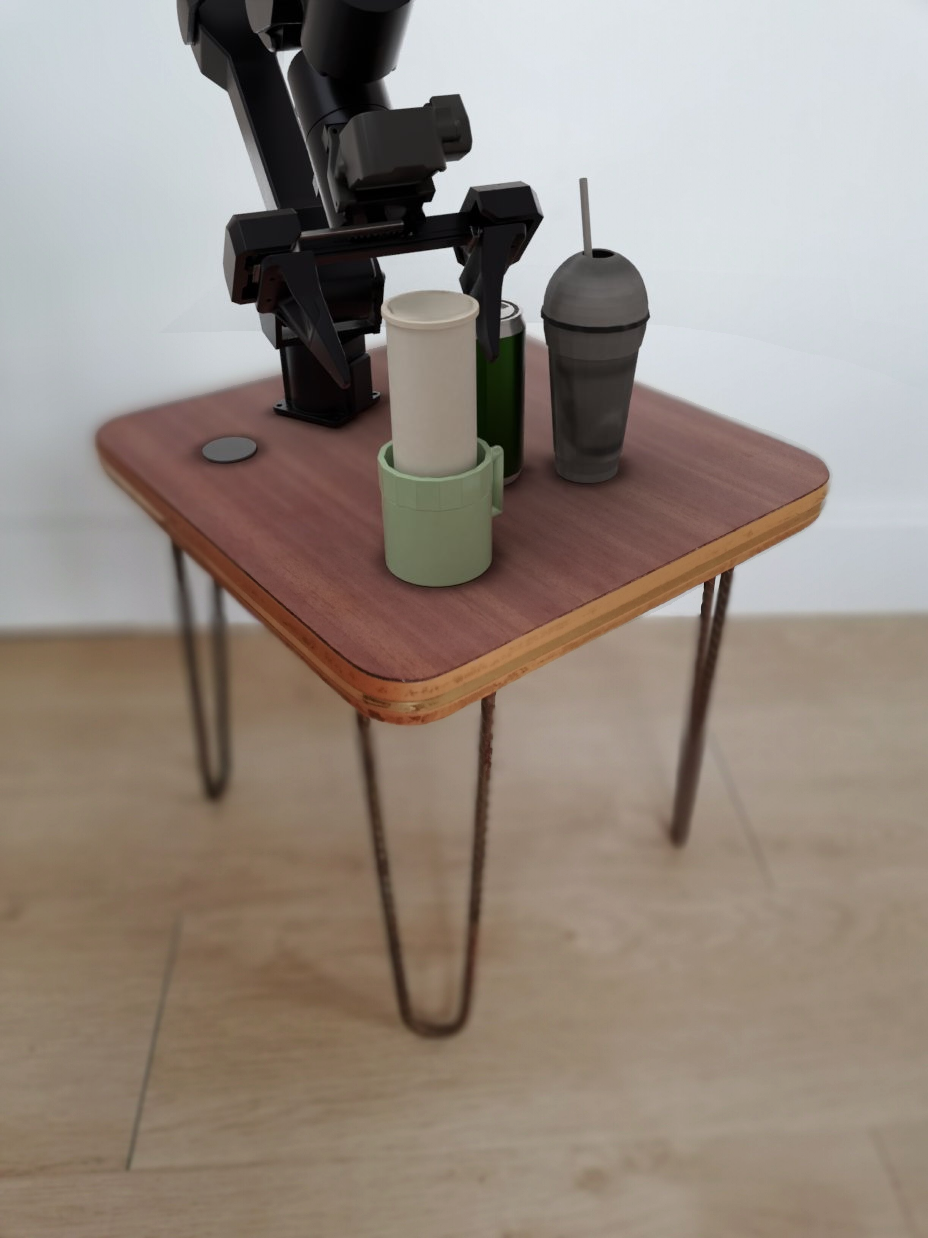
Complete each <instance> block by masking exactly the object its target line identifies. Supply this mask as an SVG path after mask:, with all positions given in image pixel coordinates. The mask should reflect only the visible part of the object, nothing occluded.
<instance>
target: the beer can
mask: <svg viewBox="0 0 928 1238" xmlns="http://www.w3.org/2000/svg"><path fill="white" fill-rule="evenodd" d="M523 314H524V309H523V307H522V305H521V304H519V303H518V302H517V301H513V300H510V299H507V298H502V299H501V322H500V347H499V357H498V359H497V360H496V362H495V363H491V364H489V363H488V361H487V359H486V357H485V355H484V353H483V351H482V349H481V347H480V345H479V342H478V338H477V335H476V406H477V437H478V438H480V439H482V440H484V441H486V442H487V444H488V445H489V447H492V446H494V445H498V446H500V447H502V449H503V452H504V464H503V487H505V486H508V485H509V484H511V483H513V482H515V481H516V480H517V479H518V478H519V477H520V474H521V472H522V470H523V467H524V463H525V461H524V460H525V416H526V415H525V412H526V410H525V409H526V407H525V405H526V355H527V354H526V352H527V351H526V350H527V348H526V347H527V322H526V321H525V318H524V316H523Z"/></svg>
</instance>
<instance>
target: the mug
mask: <svg viewBox="0 0 928 1238" xmlns="http://www.w3.org/2000/svg"><path fill="white" fill-rule="evenodd" d="M503 464H504V452H503V449H502V447H500V446H498V445H494V446H492V447H489V445H488V444H487V442H486V441H484V440H482V439H480V438H478V437H477V467H476V468H475V469H473V470H471V471H468V472H465V473H463V474H460V475H456V476H449V477H443V478H422V477H415V476H411V475H407V474H402V473H400V472H398V471H396V470H395V469H394V458H393V441H392V439H390V440H389V441H388V442H386V443H385V444H383V445H382V446H381V447H380V449H379V451H378V454H377V473H378V487H379V489H380V501H381V502H380V503H381V516H382V530H383V545H384V559H385V560H384V561H385V566H386V567H387V569H388V571H390V573H391V574H393V575H394V576H395V577H396V578H398V579H399V580H402V581H404V582H406V583H409V584H412V585H416V586H423V587H433V588H435V587H437V588H438V587H441V588H442V587H451V586H456V585H460V584H464V583H468V582H469V581H470V582H471V581H472V580H474V579H476V578H478V577H480V576H481V575H483V574H484V573H485V572H486V571H487V570H488V569H489V567H490V565H491V564H492V560H493V518H496V517H498V516H500V515H501V514H503V511H504V486H503Z"/></svg>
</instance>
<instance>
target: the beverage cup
mask: <svg viewBox="0 0 928 1238" xmlns="http://www.w3.org/2000/svg"><path fill="white" fill-rule="evenodd" d="M578 183H579V185H578V186H579V197H580V198H579V199H580V211H581V212H580V213H581V215H580V216H581V227H582V241H583V242H582V243H583V244H582V245H583V250H581V251H578V252H576V253H574V254H572V255H571V256H569V257H568V258H567V259H565V260H564V261H563V262H562V263H561V264H560V265H559V266H558V267H557V268H556V270H555V271H554V272H553V274H552V275H551V276H550V279H549V280H548V283H547V285H546V287H545V291H544V295H543V301H542V302H543V304H542V305H541V308H540V318H541V319H542V325H543V334H544V338H545V339H544V340H545V345H546V346H547V353H548V354H547V355H548V368H549V369H548V370H549V371H548V372H549V374H548V375H549V390H550V391H549V393H550V408H551V409H550V410H551V427H552V428H551V429H552V444H553V445H552V446H553V447H552V448H553V452H554V462H555V472H556V473H557V474H558V475H559V476H560V477H562V478H563V479H565V480H568V481H571V482H575V483H579V484H595V483H596V484H597V483H602V482H605V481H608V480H611V479H612V478H614V477H615V476H616V475H617V473H618V471H619V463H620V458H621V454H622V452H623V446H624V441H625V434H626V430H627V423H628V417H629V412H630V406H631V399H632V394H633V388H634V381H635V378H636V377H635V375H636V370H637V364H638V359H639V352H640V348H641V347H642V345H643V341H644V338H645V335H646V331H647V324H648V321H649V320H650V319H651V314H650V309H649V297H648V292H647V288H646V285H645V282H644V278H643V277H642V275H641V273H640V271H639V270H638V268H637V267H636V265H635V264H633V262H632V261H630V259H628V258H627V257H626V256H624V255H623V254H621V253H619V252H616V251H614V250H611V249H608V248H599V247H597V248H596V247H595V248H593V246H592V245H593V243H592V230H591V229H592V228H591V227H592V226H591V213H590V201H589V183H588V178H587V177H580V178H579V179H578Z"/></svg>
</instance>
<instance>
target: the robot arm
mask: <svg viewBox="0 0 928 1238" xmlns="http://www.w3.org/2000/svg"><path fill="white" fill-rule="evenodd" d="M416 1H417V0H176V15H177V22H178V27H179V32H180V35H181V39H182V42H183V45H184V46H190V48H191V51H192V54H193V56H194V59H195V62H196V64H197V67H198V69H199V72H200V73H201V75H203V76H204V77H205V78H206V79H209V80H210V81H211V82H213V83H214V84H215V85H217V86H218V87H219V88H220V89H222V90H223V91H225V92H226V93H227V95H228V97H229V100H230V103H231V106H232V109H233V112H234V116H235V119H236V121H237V125H238V127H239V131H240V134H241V137H242V141H243V143H244V147H245V149H246V152H247V155H248V159H249V161H250V164H251V167H252V171H253V174H254V176H255V180H256V183H257V186H258V188H259V189H258V190H259V193H260V195H261V198H262V200H263V204H264V207H265V210H262V211H252V212H245V213H235V214H232V216H231V218H230V219H229V221H228V222H227V224H226V225H225V228H224V229H225V230H224V240H223V241H224V244H223V254H222V268H223V269H222V270H223V275H224V280H225V285H226V288H227V291H228V295H229V299H230V302H231V303H234V304H236V305H239V306H243V305H249V304H254V307H255V310H256V312H257V313H258V316H259V322H260V328H261V332H262V333H263V334H264V336H265V337H266V339H267V340H268V341H269V343H270V344H271V345H272V347H273V348H274V350H275V351H276V350H277V351H279V352H278V353H279V359H280V368H281V376H282V384H283V393H284V398H282V399H281V400H279V401H278V402H276V403H274V404H272V408H273V412H274V413H276V414H281V415H285V416H289V417H292V418H296V419H300V420H304V421H308V422H313V423H317V424H321V425H325V426H328V427H335V428H337V427H340V426H342V425H343V424H345V423H347V422H348V421H349V420H351V419H353V418H354V417H356V416H358V415H359V414H360V413H362V412H363V411H365V410H366V409H368V408H369V407H371V406H372V405H374V404H376V403H377V402H379V401H380V400H381V397H382V395H381V392H379V391H375V390H373V374H372V361H371V360H372V359H371V354H370V353H369V352H367V347H366V346H367V345H366V336H367V335H379V334H381V331H382V330H381V327H382V324H383V318H382V315H381V306H382V304H383V303H384V300H385V299H384V297H385V285H386V277H387V276H386V273H385V272H384V271H383V270H382V269H381V264H380V262H379V260H378V258H384V257H392V256H398V255H399V256H400V255H406V254H413V253H421V252H427V251H436V250H442V249H443V250H444V249H450V248H452V249H453V253H454V256H455V259H456V262H457V264H458V265H460V266H462V267H463V269H462V271H461V273H460V275H459V277H458V282H459V286H460V288H461V292H462V294H466V295H468V296H470V297H472V298H474V299H475V300H476V301H477V302H478V304H479V314H478V316H477V317H476V335H477V338H478V342H479V345H480V347H481V349H482V351H483V353H484V355H485V357H486V359H487V361H488V363H489V364H491V363H495V362H496V360H497V359H498V357H499V347H500V322H501V299H503V298H502V297H503V286H504V278H505V275H506V274H507V272H508V270H509V268H510V267H511V266H513V265H515V264H516V263H518V262H520V261H521V258H522V256H523V255H524V253H525V251H527V249H528V246H529V244H530V243H531V241H532V239H533V238H534V235H535V234H536V232H537V230H538V229H539V227H540V225H541V224H542V222H543V220H544V218H545V215H544V213H543V210H542V206H541V203H540V200H539V196H538V194H537V192H536V191H535V190H534V189H533V187H532V186H531V185H530V184H528V183H526V182H524V181H522V180H517V181H516V180H515V181H509V182H500V183H499V182H498V183H491V184H482V185H474V186H469V188H468V191H467V192H466V195H465V197H464V199H463V202H462V204H461V207H460V209H459V211H458V212H451V213H441V214H434V215H426V212H425V210H424V204H426V203H432V202H433V200H434V197H435V194H436V191H437V189H436V186H435V183H434V179H433V177H434V176H435V175H437V174H438V173H444V172H445V171H446V170H447V168H448V167H447V163H451V162H458V161H461V160H462V159H463V158H464V157H466V156H467V155H468V154H470V153H471V151H472V148H473V135H472V128H471V122H470V118H469V115H468V112H467V109H466V107H465V103H464V101H463V98H462V96H461V94H460V93H453V94H442V95H441V94H440V95H432V96H431V97H429V101H428V102H425V103H424V104H423V106H415V107H414V106H413V107H405V108H394V106H393V103H392V99H391V96H390V92H389V89H388V87H387V83H386V80H385V77H387V76H389V75H390V74H391V72H395V71H396V70H397V67H398V64H399V62H400V57H401V53H402V50H403V48H404V43H405V40H406V37H407V33H408V29H409V25H410V22H411V18H412V15H413V11H414V7H415V4H416ZM292 51H293V52H294V51H297V52H296V54H295V55H294V56H293V58H292V59H291V61H290V64H289V65H288V68H287V72H286V78H285V77H284V74H283V69H284V61H285V60H284V59H285V52H292ZM285 79H286V80H287V82H286V80H285ZM287 83H288V85H287ZM288 87H289V88H288ZM289 90H290V91H289Z"/></svg>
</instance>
